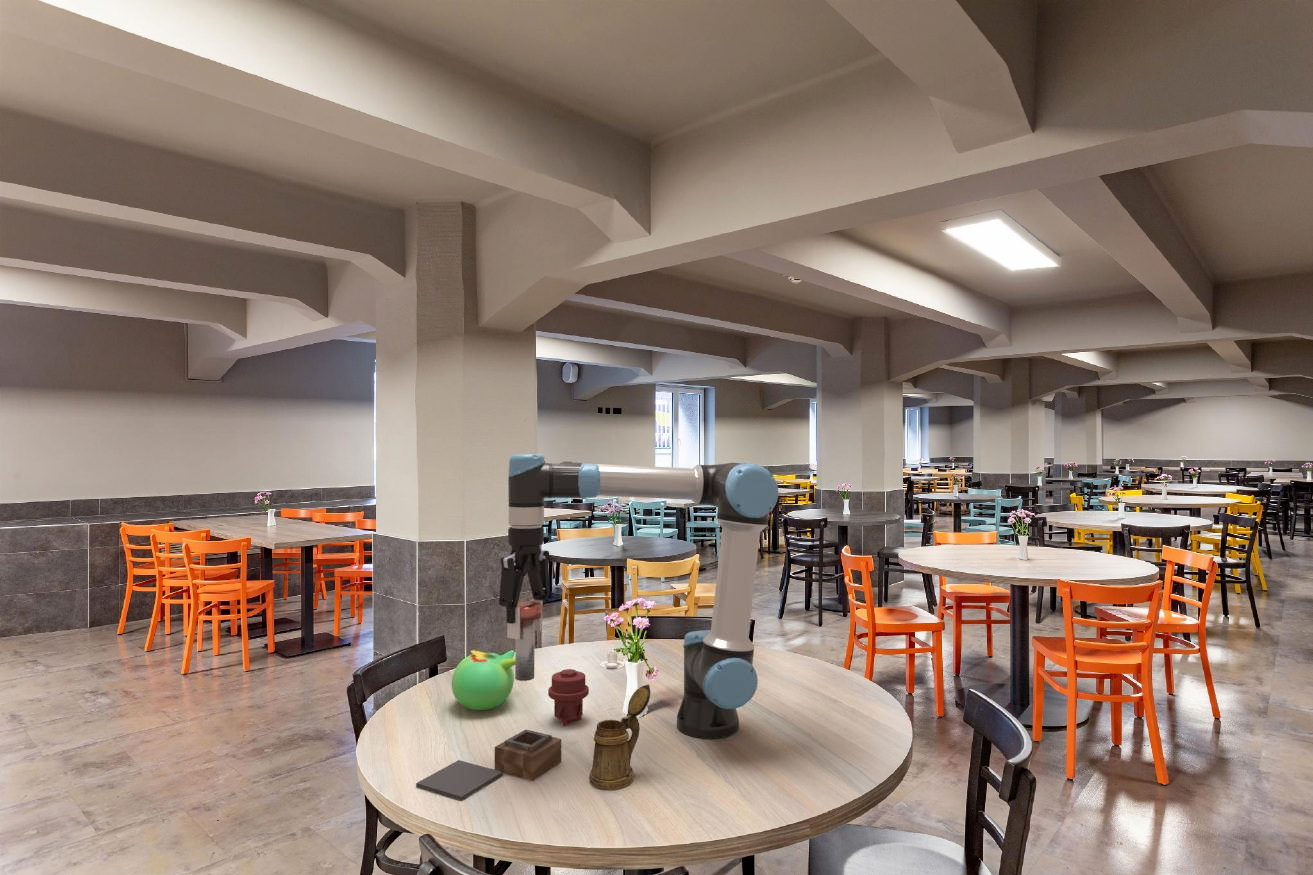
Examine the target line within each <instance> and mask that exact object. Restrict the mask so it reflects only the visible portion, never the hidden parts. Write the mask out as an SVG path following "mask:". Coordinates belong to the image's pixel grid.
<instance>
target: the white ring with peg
mask: <svg viewBox="0 0 1313 875" xmlns="http://www.w3.org/2000/svg"><path fill="white" fill-rule="evenodd" d="M624 663H625V662H624V661H622V660H621V661H620V660H618V651H613V650H612V651H608V652H607V660H605V661H602V662H600V664H599V666H600V667H601V668H604V669H619V668H623V667H625V666H624ZM618 664H621V665H620V666H618Z"/></svg>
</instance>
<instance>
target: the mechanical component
mask: <svg viewBox="0 0 1313 875" xmlns="http://www.w3.org/2000/svg"><path fill="white" fill-rule="evenodd" d="M547 692H548V694H547V696H548V697H549V698H550V699H552V700H553V701H554V702H553V703H554V705H553V706H554V707H553V708H554V709H553V710H554V711H553V712H554V714H553V715H554V717H555V718H556V719H558V720H559V721H560V720H561V725H562V726H563V727H567V726H569V725H571V724H573V723H575V722H580V721H582V720H583V719H582V717H583V715H584V714H583V712H584V711H583V708H584V706H583V705H584V703H583V701H584V699H585V698H586V697H588V696H589V694H590V693H589V692H590V688H589V686H588V685H587V684H586V674H585V673H584V672H583V671H579V670H576V669H572V668H568V669H567V668H566V669H562V670H561V671H557V672H555V673H554V674H552V675H551V685H550V686H549V688H548V691H547Z"/></svg>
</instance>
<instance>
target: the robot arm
mask: <svg viewBox="0 0 1313 875" xmlns="http://www.w3.org/2000/svg"><path fill="white" fill-rule="evenodd" d="M508 463H509V464H508V480H507V481H508V488H507V489H508V525H509V526H510V527H508V529H507V531H508V532H507V543H508V545H509V546H511V550H510V554H509V555H508V556H505V557H503V556H502V557H501V558H500V565H501V566H500V567H501V574H500V576H501V577H500V584H499V586H500V587H499V600H498V605H499V606H502V607H504V608H505V609H506V613H505V614H506V616H505V617H506V618H505V620H506V623H507V624H506V625H507V630H506V631H507V632H506V633H507V636H506V637H507V639H513V640H516V639H520V607H517V605H518V602H520V601H519V600H520V597H521V596H520V595H521V591H522V587H523V582H524V578H525V576H527V578H528V581H529V586H530V590H531V594H532V598H533V599H530V600H529V601H532V602H539V603H541V604H542V615H543V613H544V601H547V600H548V598H549V595H550V594H551V587H550V585H551V584H550V572H549V558H550V551H549V550H545V549H544V550H543V549H541V547H540V546H542V545H543V544H544V542H545V541H544V540H545V539H544V538H545V536H544V535H545V531H544V530H545V529H544V527H543V525H544V524H545V499H582V500H583V499H590V498H597V497H598V496H604V497H622V498H623V497H625V498H645V499H646V498H647V499H666V500H667V499H668V500H672V499H673V500H691V501H692V502H693V503H694V504H695V505H702V506H703V505H705V506H711V507H715V508H717V512H716V521H717V522H718V523H719V525H720V526H721V528H722V529H721V536H720V547H719V552H718V553H719V556H718V564H717V572H716V573H717V574H716V583H715V591H714V598H713V609H712V618H711V627H710V629H708V630H694V631H689V632H687V633H686V634H685V636H684V638H683V639H684V641H683V645H682V646H683V696H682V700H681V702H680V705H679V709H678V712H677V715H676V728H677V729H678V731H680V732H681V733H682V734H684V735H687V736H690V737H693V738H699V739H721V738H726V737H729V736H732V735H734V734H735V733H737V732H738V731H739V729H740V719H739V715H738V714H739V713H738V711H737V709H738V708H742V707H743V706H744V705H746V704H747V703H748V702H750V701H751V700H752V698H753V697H754V695H755V694H756V691H757V688H758V684H759V682H758V681H759V680H758V679H759V678H758V674H757V670H756V669H755V667H754V666H753V663H754V652H755V644H753V642H752V641H751V640H750V638H749V637H750V636H749V635H750V628H751V627H750V626H751V616H752V608H753V598H754V591H755V582H756V571H757V563H758V553H759V545H760V544H759V543H760V536H761V535H760V534H761V532H762V531H763V530H764V529H766V528H767V527H768V525H769V517H770V512H772V510H773V509H774V508H775V506H776V505H777V502H778V499H779V487H778V484H777V481H776V478H775V476H773V474H772V473H771V472H770V471H769V469H766V468H765V467H763V466H762V465H758V464H755V463H751V462H747V463H746V462H728V463H719V464H696V465H695V466H694V467H693V468H689V467H686V468H685V467H669V466H667V467H666V466H649V465H648V466H647V465H633V464H632V465H631V464H628V465H627V464H613V463H612V464H610V463H588V462H573V461H563V462H560V463H550V462H549V463H548V462H546V460H545V456H544V455H543V454H540V453H539V454H538V453H537V454H534V453H532V454H530V453H529V454H527V453H525V454H523V453H522V454H521V453H519V454H518V453H517V454H513V455H512V456H510V458H509V462H508ZM542 631H543V616H542V617H541V618H539V619H535V632H542Z"/></svg>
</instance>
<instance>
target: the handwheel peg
mask: <svg viewBox="0 0 1313 875" xmlns="http://www.w3.org/2000/svg"><path fill="white" fill-rule="evenodd" d="M517 607H520V639H515V650H514V656H515V658H514V659H515V665H514V667H515V668H514V669H515V671H514V672H515V673H514V677H515V678H514V680H517V681H519V682H520V681H521V682H527V681H531V680H533V679H535V646H536V645H535V639H536V638H535V636H536V635H535V632H536V631H535V619H539V618H541V617H542V618H543V614H542V604H541V603H539V602H532V601H530V600H529V601H518V605H517Z"/></svg>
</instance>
